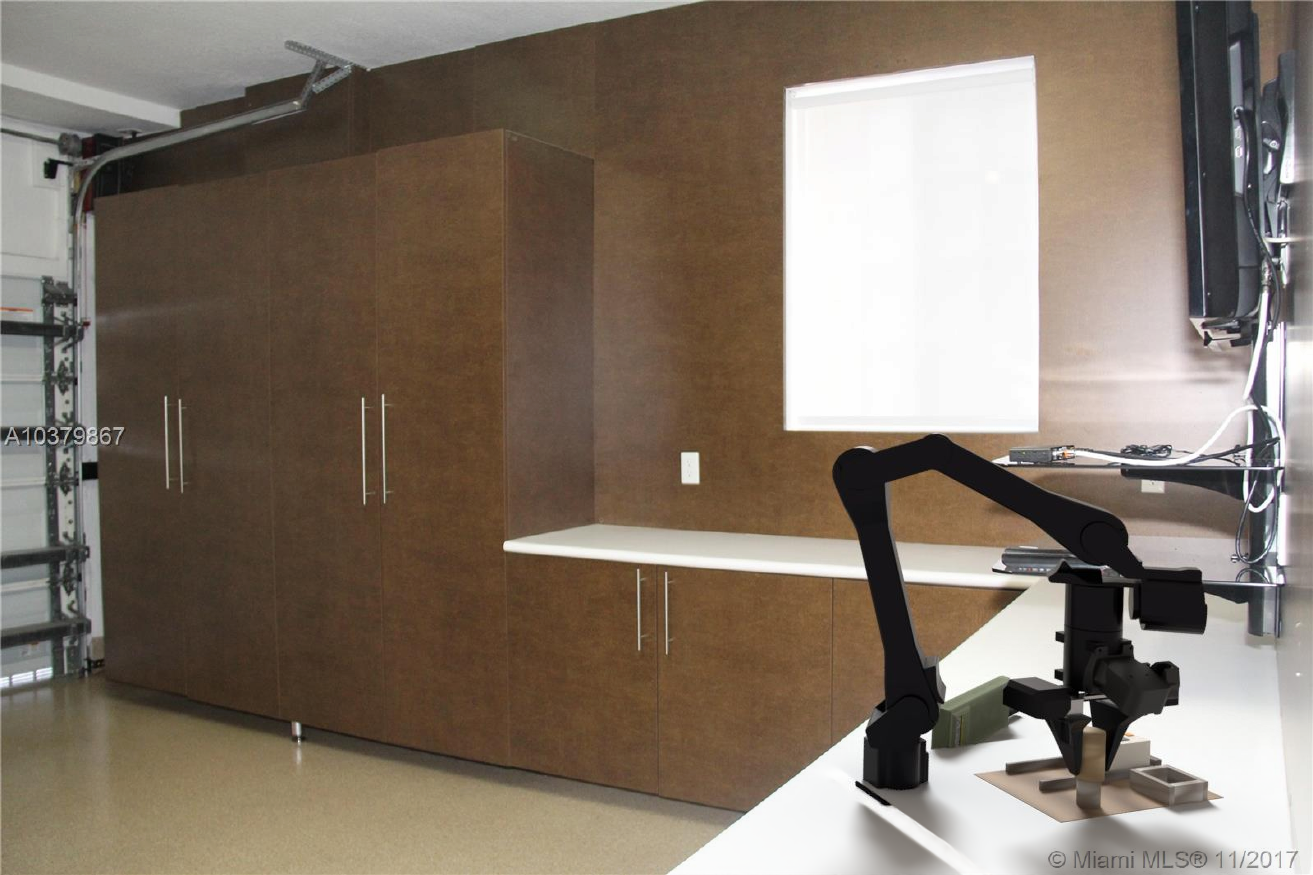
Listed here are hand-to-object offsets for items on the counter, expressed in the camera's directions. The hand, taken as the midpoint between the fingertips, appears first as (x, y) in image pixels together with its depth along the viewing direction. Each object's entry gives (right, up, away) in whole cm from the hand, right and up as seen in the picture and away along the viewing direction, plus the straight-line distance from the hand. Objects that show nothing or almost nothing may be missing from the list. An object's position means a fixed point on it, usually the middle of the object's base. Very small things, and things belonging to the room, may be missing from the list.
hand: (1089, 772), depth 106 cm
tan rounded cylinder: (0, -4, 0) cm, 4 cm away
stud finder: (+8, -3, +11) cm, 14 cm away
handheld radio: (-3, -5, +28) cm, 28 cm away
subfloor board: (+3, -5, +6) cm, 8 cm away
